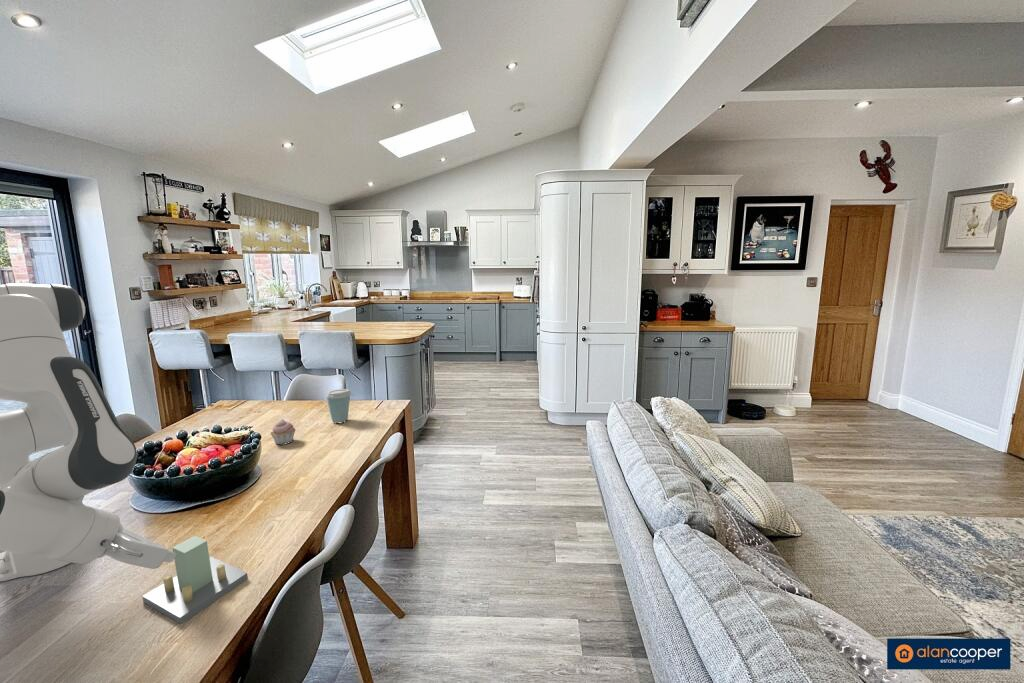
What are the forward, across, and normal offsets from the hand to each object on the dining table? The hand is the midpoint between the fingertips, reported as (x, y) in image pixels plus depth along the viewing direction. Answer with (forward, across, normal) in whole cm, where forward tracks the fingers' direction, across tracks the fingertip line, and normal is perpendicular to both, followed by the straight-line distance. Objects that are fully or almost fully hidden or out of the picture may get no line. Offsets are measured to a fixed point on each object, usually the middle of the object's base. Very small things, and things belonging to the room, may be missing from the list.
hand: (159, 550), depth 88 cm
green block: (+12, 0, +5) cm, 13 cm away
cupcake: (+59, +54, -39) cm, 90 cm away
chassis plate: (+14, 0, +6) cm, 15 cm away
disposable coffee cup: (+78, +51, -58) cm, 110 cm away
